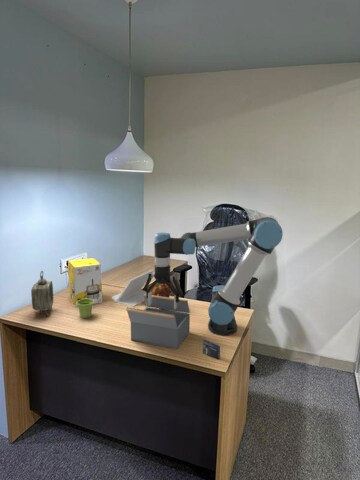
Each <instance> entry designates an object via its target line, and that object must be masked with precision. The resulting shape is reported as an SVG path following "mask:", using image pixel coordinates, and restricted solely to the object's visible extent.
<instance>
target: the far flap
mask: <svg viewBox="0 0 360 480" xmlns="http://www.w3.org/2000/svg"><path fill="white" fill-rule="evenodd" d="M143 297H144V299H145V301H144V302H145V306H146V307H148V308H154V309H161V310H167V311H174V312H180V313H187V314H190V313H191V311H190V306H189V300H188V299H182V298H181V299H180V298H179V302H178V303H177V308H176V309H174V297H173V298H172V297H169V298H168V297H161V296H158V295H157V296H154V295H152V304H151V305H150V306H148V298H147V297H146V294H144V295H143Z"/></svg>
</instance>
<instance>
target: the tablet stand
mask: <svg viewBox="0 0 360 480" xmlns="http://www.w3.org/2000/svg"><path fill="white" fill-rule="evenodd" d="M150 273H154V269H151V270H149V271H146V272H144V273H142V274H140V275H138V276H135V277H132V278H131V279H129V281H128V283H126V285H125V287H124V289H123V290H122V292H119V293H118V294H115V295H113V296H111V300H113V301H114V303H117V304H121V305H126V306H131V307H136V306H138V305H139V304H141V303H144V302H145V299H144V297H143V295H144V294H146V291H143V288H144V286H145V284H146V282H147V280H148V276H149V274H150Z"/></svg>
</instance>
